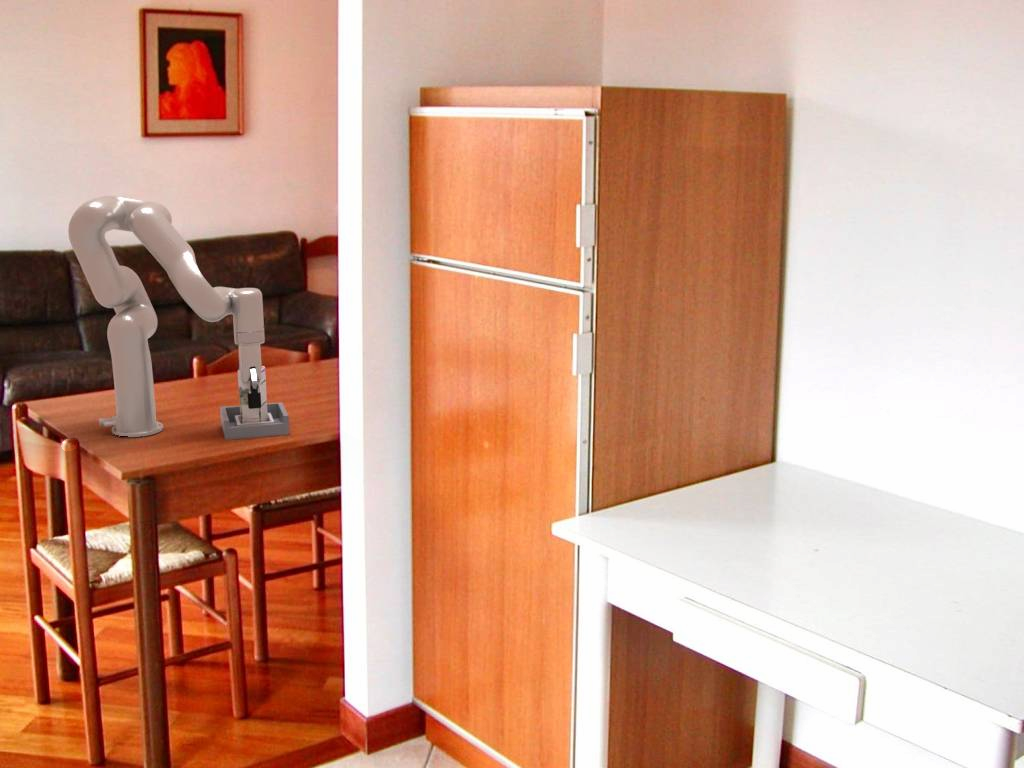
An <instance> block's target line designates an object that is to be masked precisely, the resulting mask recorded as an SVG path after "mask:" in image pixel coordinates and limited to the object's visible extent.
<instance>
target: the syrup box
mask: <svg viewBox="0 0 1024 768" xmlns="http://www.w3.org/2000/svg"><path fill="white" fill-rule="evenodd" d="M250 373H251V372H250ZM256 377H257V378H259V377H258V376H257V375H256ZM266 379H267V376H266V366H265V365H261V382H259V388H260V393H261V408H254V409H249V408H248V393H249V391H248V381H247V382H245V384H244V383H242V381H241V370H240V369H239V368H238V370H237V382H238V383H237V384H238V397H239V398H238V399H239V406H240V417H241V424H244V423H256V422H265V421H266V420H267V419H268V411H267V403H268V401H267V400H268V399H267V398H268V397H267V380H266ZM249 381H252V379H250V380H249ZM251 385H252V384H250V386H251Z"/></svg>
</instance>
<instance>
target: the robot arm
mask: <svg viewBox="0 0 1024 768" xmlns="http://www.w3.org/2000/svg"><path fill="white" fill-rule="evenodd" d="M172 222H173V221H172V215H171V212H170V211H169V209H168V208H167V207H165V205H163V204H161V203H159V202H155V201H148V200H141V199H135V198H128V197H123V196H117V195H104V196H100V197H96V198H92V199H89V200H87V201H86V202H84V203H82V204H81V205H80V206H78V207H77V209H76V210H75V212H73V214H72V216H71V218H70V220H69V223H68V230H67V231H68V234H67V235H68V238H69V243H70V245H71V248H72V250H73V252H74V254H75V256H76V258H77V261H78V262H79V265H80V267H81V270H82V272H83V274H84V276H85V278H86V281H87V283H88V285H89V288H90V290H91V292H92V295H93V296H94V298H95V300H96V301H97V302H98V304H99V305H100V306H102V307H104V308H106V309H113V310H114V312H115V315H114V316H113V317H112V318H111V320H110V321H109V323H108V326H107V330H106V331H107V332H106V333H107V335H106V336H107V341H108V346H109V350H110V356H111V367H112V374H113V384H114V385H113V386H114V397H115V407H116V413H115V415H112V416H111V417H100V418H99V417H98V425H99V427H102V426H103V427H104V428H105V427H106V428H107V427H108V428H109V427H112V428H111V434H112V435H114V434H115V435H114V436H116V435H119V436H118V437H120V436H128V437H127V438H139V437H141V436H142V437H147V436H153V435H156V434H158V433H160V432H161V431H163V429H164V424H163V423H162V422H160V421H158V420H157V414H156V401H155V389H154V375H153V366H152V365H153V364H152V358H151V357H152V356H151V351H150V345H149V340H148V339H149V338H151V337H152V336H153V335H154V334H155V333H156V331H157V328H158V316H157V314H156V311H155V309H154V307H153V305H152V303H151V299H150V298H149V296H148V293H147V291H146V289H145V287H144V285H143V282H142V280H141V278H140V277H139V276H138V274H137V273H136V272H135V271H134V270H133V269H131V268H130V267H128V266H126V265H125V266H124V265H120V264H119V262H118V260H117V257H116V255H115V253H114V249H112V247H111V246H110V244H109V243H108V241H107V239H106V236H105V235H106V234H107V232H110V231H112V230H115V231H116V230H118V231H125V232H132V233H133V234H134V236H135V237H136V238H137V239H138V240H139V242H140V243H141V244H142V245H143V246H144V247H145V248H146V250H148V252H149V253H150V254H151V255H152V256H153V257H154V259H156V262H158V263H159V265H160V266H161V267H162V268H163V269H164V270H165V272H166V273H167V275H168V278H169V279H170V281H171V283H172V284H173V286H174V288H175V289H176V291H177V292H178V294H179V295H180V297H181V298H182V300H184V302H185V303H186V304H187V306H189V307H190V309H192V311H194V313H195V314H196V315H197V316H198V317H200V318H201V319H202V320H204V321H206V322H209V323H215V322H220V320H222V319H224V318H225V317H226V316H229V315H232V317H233V318H232V320H233V336H234V337H233V339H234V344H235V345H236V346H238V365H239V366H238V370H239V369H240V370H241V381H242V383H244V384H245V382H247V381H248V391H249V393H248V408H249V409H254V408H261V393H260V388H259V382H261V366H262V352H261V345H263V344H264V343H265V339H266V338H265V323H264V303H263V293H262V291H261V290H260V289H259V288H256V287H240V288H234V287H225V286H215V287H212V285H211V284H210V282H208V281H207V279H206V278H205V277H204V275H203V274H202V273H201V271H200V269H199V266H198V265H197V260H196V256H195V252H194V250H193V248H192V247H191V245H190V244H189V243H188V242H187V241H186V239H185V238H184V237H183V236H182V235H181V234H180V233H179V231H178V230H177V229H176V228H175V227H174V226H173V225H172ZM250 372H251V373H250ZM256 375H257V376H258V377H259V378H257V377H256ZM250 379H252V381H249V380H250ZM250 384H252V385H251V386H250Z"/></svg>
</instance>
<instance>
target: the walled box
mask: <svg viewBox="0 0 1024 768" xmlns="http://www.w3.org/2000/svg"><path fill="white" fill-rule="evenodd" d="M219 409H220V423H221V426H220V427H221V429H222V433H223V437H224V440H225V441H230V440H239V439H241V440H242V439H252V438H264V437H274V436H275V437H277V436H288V435H290V423H289V421H290V420H289V414H288V412H287V410H286V407H285V406H284V403H283V402H282V401H281V402H280V401H279V402H267V411H268V419H267V420H266V421H265V422H256V423H244V424H241V417H240V405H229V406H227V405H226V406H220V408H219Z"/></svg>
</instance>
